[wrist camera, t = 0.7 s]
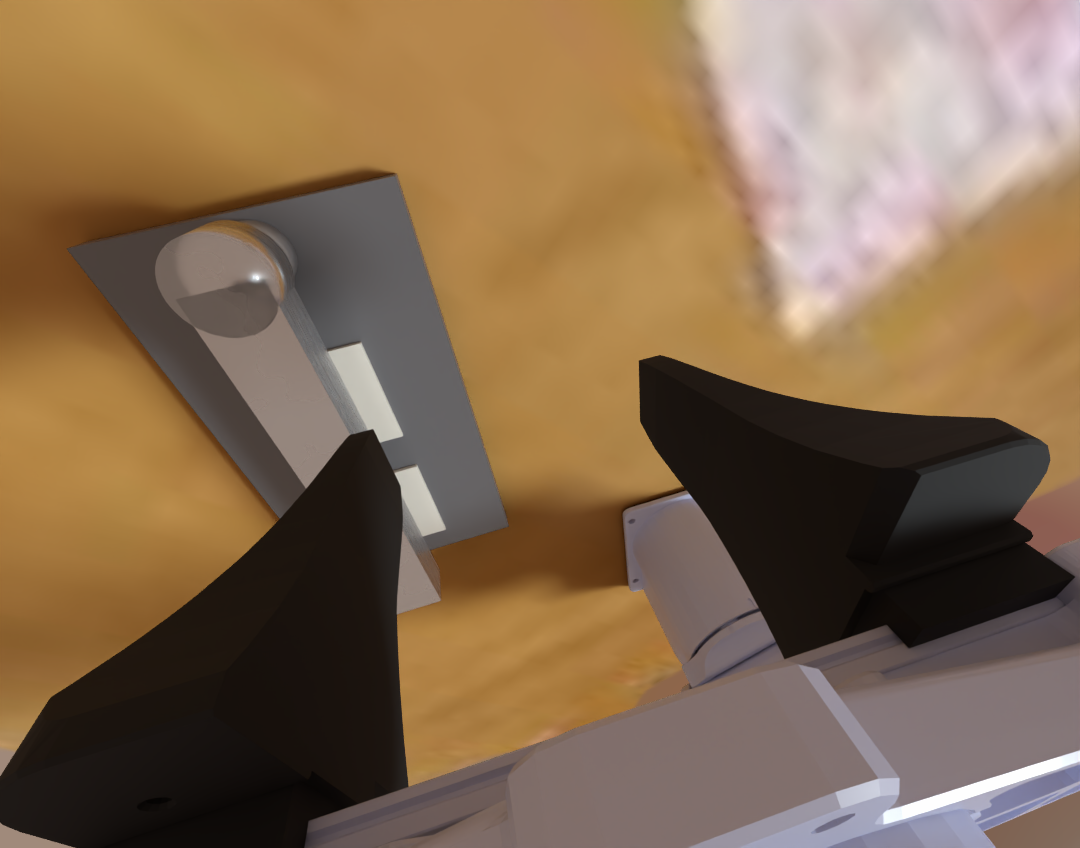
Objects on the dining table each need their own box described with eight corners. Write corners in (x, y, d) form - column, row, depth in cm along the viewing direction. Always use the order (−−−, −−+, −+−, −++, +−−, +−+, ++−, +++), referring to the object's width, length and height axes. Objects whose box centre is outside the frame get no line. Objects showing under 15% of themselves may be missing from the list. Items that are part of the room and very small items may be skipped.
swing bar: (163, 232, 13) (128, 247, 11) (264, 210, 13) (242, 221, 12) (391, 583, 24) (389, 616, 22) (443, 567, 24) (445, 599, 23)
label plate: (506, 514, 27) (514, 550, 25) (331, 566, 26) (322, 609, 24) (396, 173, 16) (392, 181, 14) (85, 242, 15) (24, 263, 13)
